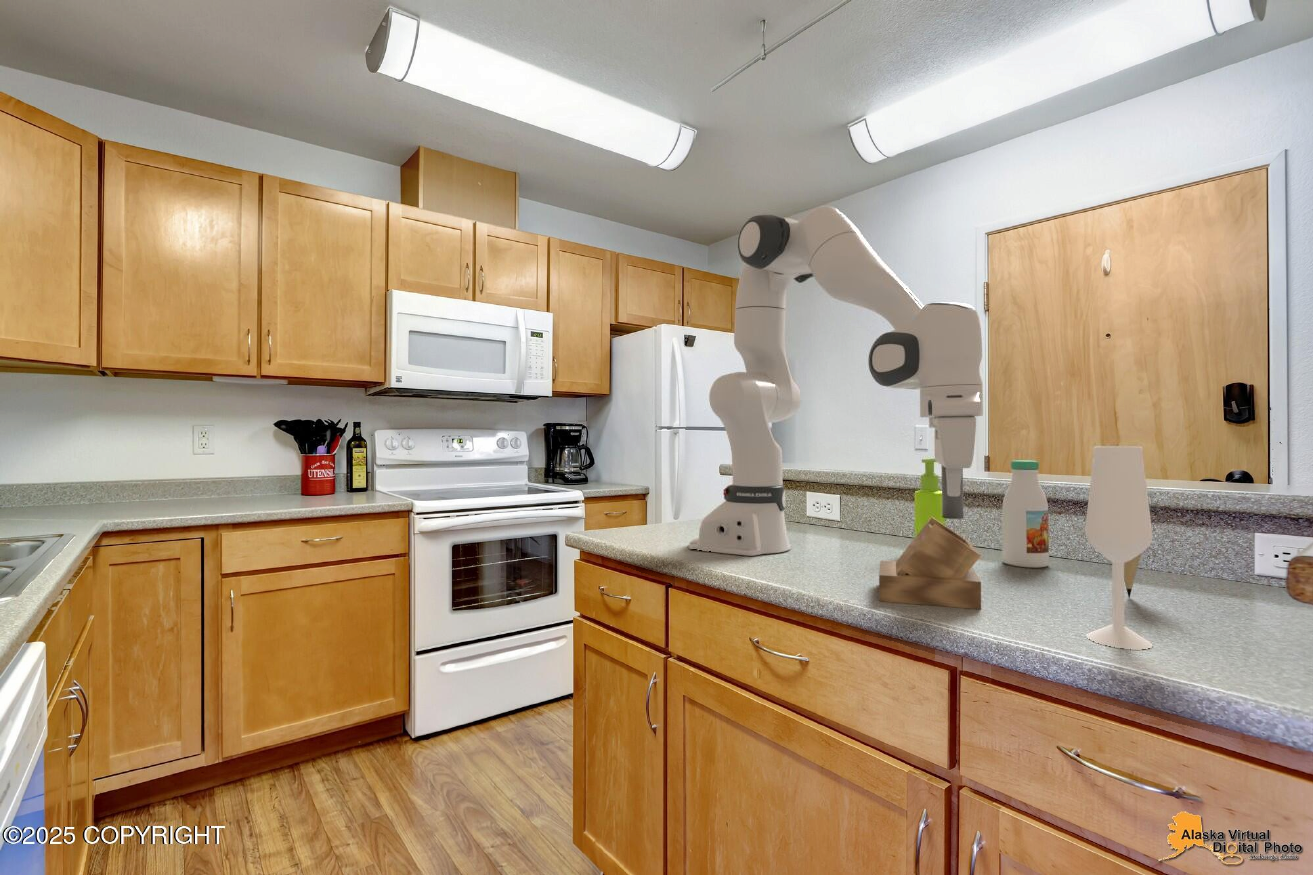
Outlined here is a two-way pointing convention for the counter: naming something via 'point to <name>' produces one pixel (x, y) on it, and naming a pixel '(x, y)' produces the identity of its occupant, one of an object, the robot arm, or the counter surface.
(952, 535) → the holder
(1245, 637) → the counter surface
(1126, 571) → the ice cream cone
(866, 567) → the counter surface
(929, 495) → the soap dispenser
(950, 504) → the grey orange cylinder
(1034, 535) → the milk bottle
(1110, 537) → the champagne flute
